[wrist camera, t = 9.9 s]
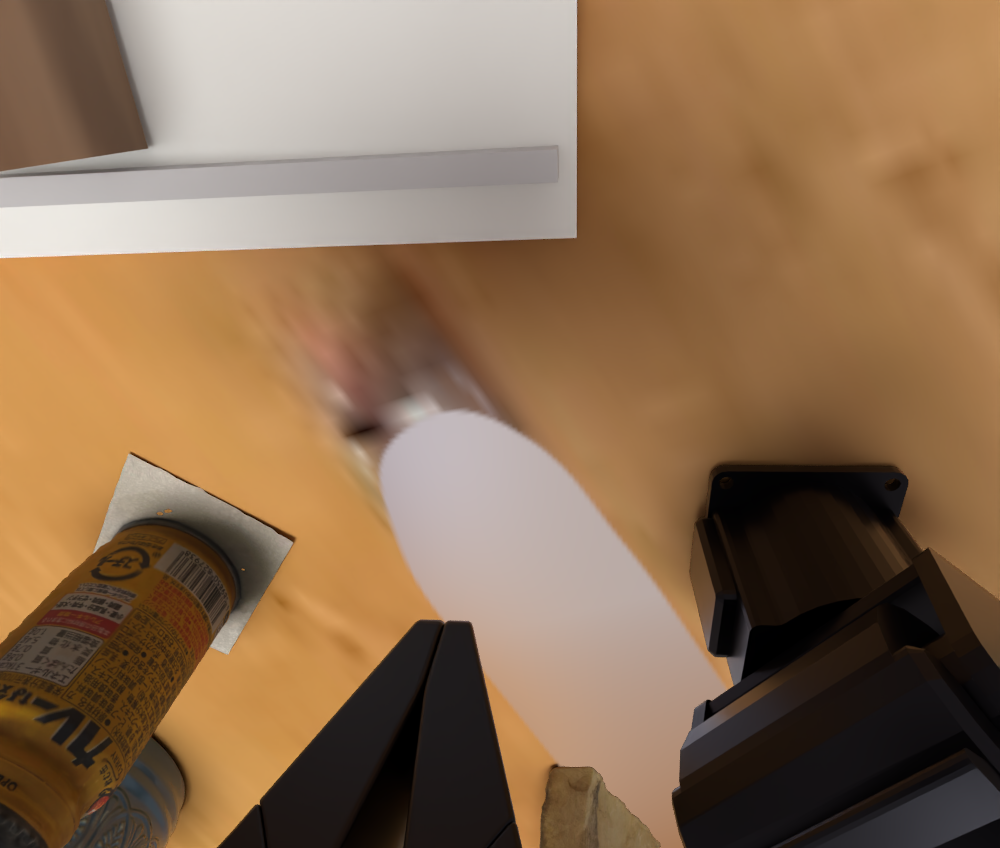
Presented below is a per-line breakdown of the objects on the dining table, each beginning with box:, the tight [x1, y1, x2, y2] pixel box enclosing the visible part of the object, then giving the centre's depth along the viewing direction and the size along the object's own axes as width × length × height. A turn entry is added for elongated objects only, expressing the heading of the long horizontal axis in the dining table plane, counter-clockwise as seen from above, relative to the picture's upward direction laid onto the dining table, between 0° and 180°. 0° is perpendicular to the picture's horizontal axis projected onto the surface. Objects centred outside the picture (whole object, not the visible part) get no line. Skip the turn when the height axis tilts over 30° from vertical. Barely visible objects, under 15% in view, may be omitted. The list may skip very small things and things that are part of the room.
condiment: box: [0, 454, 293, 848], centre depth 22 cm, size 7×8×12 cm
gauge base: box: [0, 0, 577, 258], centre depth 15 cm, size 23×11×6 cm, turn 93°
